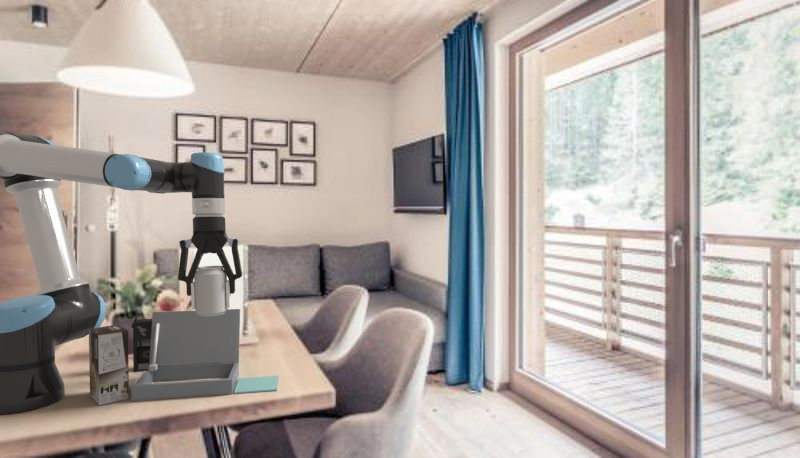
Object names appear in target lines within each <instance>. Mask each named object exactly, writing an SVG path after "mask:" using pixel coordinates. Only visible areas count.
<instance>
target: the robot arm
mask: <svg viewBox="0 0 800 458" xmlns="http://www.w3.org/2000/svg"><path fill="white" fill-rule="evenodd" d="M1 179H2V182H3V185H4V188H5V191H6V192H8V193H9V194H11V195H13V196H14V197H15V200H16V204H17V207H18V211H19V214H20V218H21V222H22V225H23V230H24V232H25V233H24V234H25V236H26V239H27V243H28V246H29V247H28V248H29V252H30V254H31V258H32V261H33V266H34V269H35V273H36V277H37V280H38V284H39V289H38V291H37V292H36V293H35V294H34V295H26V296H23V297H15V298H12V299H11V298H10V299H8V300H5V301H2V302H0V415H7V414H15V413H21V412H27V411H31V410H35V409H36V410H37V409H39V408H43V407H45V406H48V405H51V404H53V403H56V402H57V401H59V400H61V399H62V398H63V397H64V396H65V393H66V391H65V382H64V381H63V379H62V376H61V373H60V371H59V369H58V366H57V365H56V348H55V347H57V346H59V345H63V344H66V343H69V342H72V341H75V340H79V339H82V338H85V337H87V336H89V329H94V328H99V327H102V323H104V321H105V319H106V314H107V306H106V302H105V301H104V298H103V297H102V296H101V295H99V294H98V292H95V291H92V289H91V286H90V283H89V282H88V281H87V280H85V279H83V278H81V276H80V273H79V269H78V266H77V265H78V264H77V261H76V257H75V255H74V250H73V247H72V244H71V240H70V237H69V232H68V229H67V225H66V221H65V217H64V214H63V209H62V208H61V203H60V199H59V195H58V193H57V192H58V188H60V186H61V185H62V181H69V182H75V183H83V184H90V185H96V186H97V185H98V186H104V187H111V188H116V189H121V190H124V191H143V192H144V191H145V192H148V193H151V194H162V195H163V194H170V193H171V194H173V193H174V194H176V193H178V194H179V193H191V201H192V202H191V206H192V207H191V209H192V211H191V212H192V215H194V216H193V218H192V236H191V238H190V239H182V240H179V247H180V250H181V251H180V258H179V267H178V274H177V280H178V281H181V282H184V283H185V285H186V295H187V296H188V297H190V300H191V301H190V302H191V311H195V283H194V274H195V273H196V271H197V268H198V267H200V264H201V260H202V258H203V256H204V254H205V255H207V254H216V256H217V257H218V259H219V261H220V263H221V266H223V269H224V270H225V272H226V274H227V281H226V307H227V308H229V309H230V308H231V307H232V295H233V294H235V292H236V280H238V279H240V278H242V276H243V270H242V265H241V259H240V253H239V243H240V240H239V238H233V237H232V238H231V237H228V235H227V232H226V229H227V228H226V218H225V216H223V215H225V214H226V198H225V169H224V158H223V156H222V155H221V154H219V153H215V152H194V153H191V155H190V159H189V161H186V162H178V161H176V162H170V161H163V160H157V159H153V158H146V157H142V156H138V155H133V154H129V153H128V154H127V153H122V154H121V153H120V154H119V153H115V152H108V151H100V150H93V149H92V150H91V149H84V148H78V147H77V148H76V147H71V146H63V145H57V144H56V143H55V142H52V141H51V140H48V139H46V138H43V137H41V136H37V135H31V134H30V135H27V134H22V133H17V132H12V131H7V130H3V129H0V180H1ZM227 243H228V246H229V247H230V248H231V253H232V254H231V255H232V260H233V266H234V271H235V274H234V271H233V270H232V268H231V265H230V263H229V260H228V259H227V256H226V254H225V251H224V249H223V248H224V247H225V246H226V244H227ZM191 245H193V246H194V247H195V249H197V250H196V253H195V255H194V259H193V261H192V263H191V266H190V267H189V268H190V269H189V271H188V273H187V267H188V259H189V248H191ZM186 274H187V275H186Z"/></svg>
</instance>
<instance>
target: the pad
mask: <svg viewBox="0 0 800 458" xmlns="http://www.w3.org/2000/svg"><path fill="white" fill-rule="evenodd" d="M278 384H279V375H268V376H254V377H253V376H251V377H238V379H237V382H236V384H235V387H234V390H233V394H234V395H235V394H237V395H239V394H251V393H265V392H266V393H268V392H276V391H278V387H279V386H278Z"/></svg>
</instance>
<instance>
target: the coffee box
mask: <svg viewBox="0 0 800 458" xmlns="http://www.w3.org/2000/svg"><path fill="white" fill-rule="evenodd" d="M88 357H89V360H88V362H89V394H90V397H91V399H93V400H94V401H95V402H96V404H98V406H102V405H107V404H111V403H116V402H120V401H125V400H129V398H130V397H129V396H130V395H129V394H130V393H129V392H130V391H129V390H130V389H129V388H130V387H129V385H130V384H129V383H130V380H129V379H130V378H129V376H130V375H129V330H128V329H126V328H124V327H123V326H120V325H119V324H111V325H106V326H100V327H99V328H94V329H89V334H88Z"/></svg>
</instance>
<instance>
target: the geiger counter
mask: <svg viewBox="0 0 800 458" xmlns="http://www.w3.org/2000/svg"><path fill="white" fill-rule="evenodd" d="M131 328H132V344H133V345H132V349H133V352H132V357H133V358H132V362H133V363H132V364H133V372H134V373H136V372H146V370H147V369H148V368H149V362H150V346H151V331H152V318H144V319H142V318H141V319H140V318H138V314H136V315H135V316H134V320H133V321H132V324H131ZM158 367H159V366H158Z"/></svg>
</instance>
